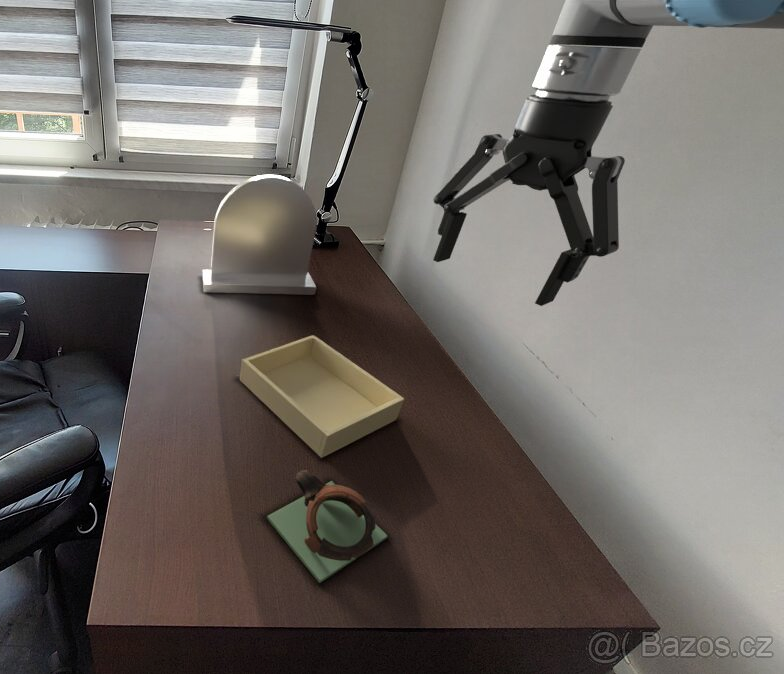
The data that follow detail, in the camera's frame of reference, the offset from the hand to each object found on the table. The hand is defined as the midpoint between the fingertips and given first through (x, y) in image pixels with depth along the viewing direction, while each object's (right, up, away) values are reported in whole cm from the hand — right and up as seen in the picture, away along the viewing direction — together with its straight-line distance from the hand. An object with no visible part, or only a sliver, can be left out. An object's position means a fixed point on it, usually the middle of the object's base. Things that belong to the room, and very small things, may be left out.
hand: (488, 279), depth 59 cm
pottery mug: (-21, -33, +1) cm, 39 cm away
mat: (-21, -33, +1) cm, 39 cm away
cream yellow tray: (-16, -19, +23) cm, 34 cm away
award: (-21, +6, +59) cm, 63 cm away
